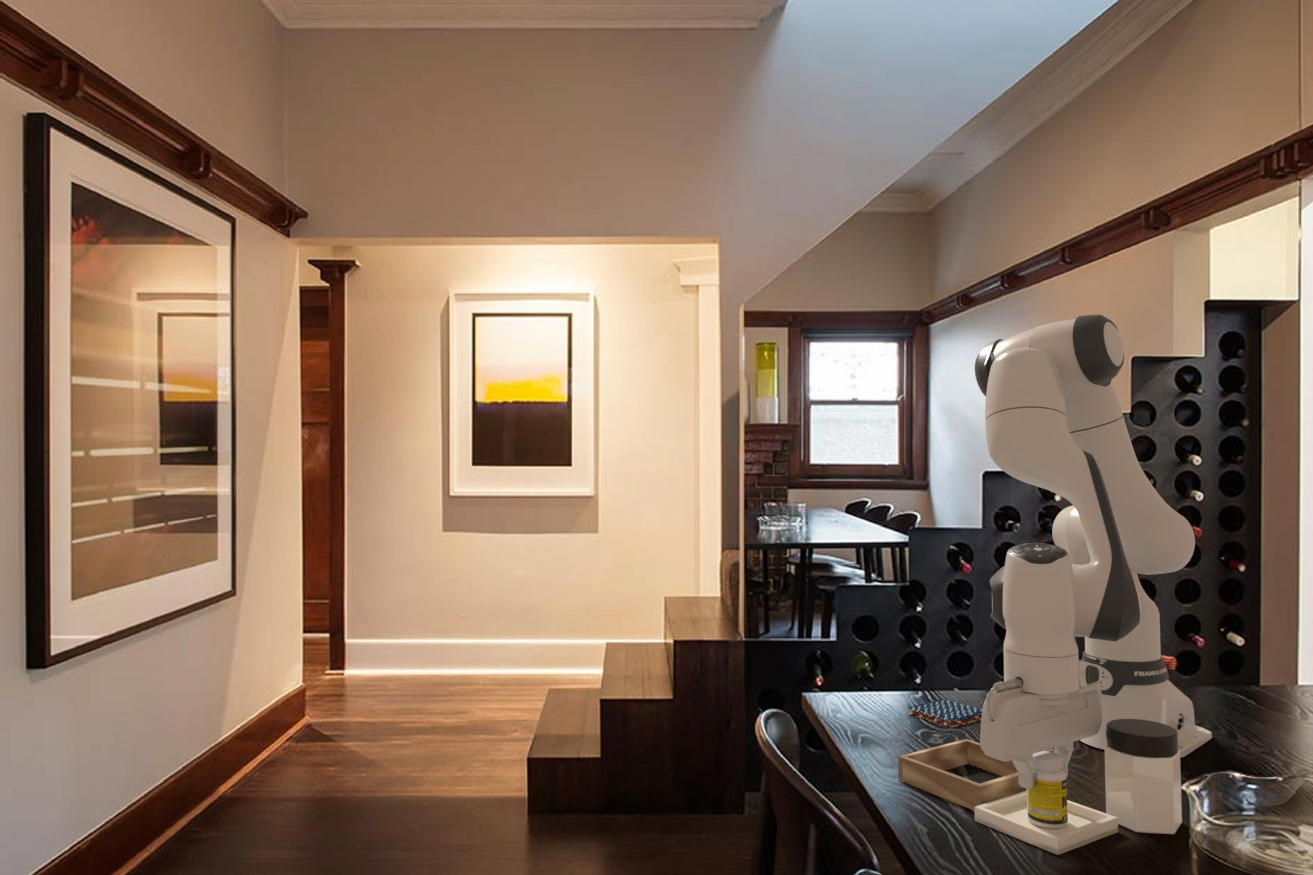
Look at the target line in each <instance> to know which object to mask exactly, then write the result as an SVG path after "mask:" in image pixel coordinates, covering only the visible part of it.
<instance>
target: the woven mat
mask: <svg viewBox="0 0 1313 875" xmlns="http://www.w3.org/2000/svg"><path fill="white" fill-rule="evenodd" d="M908 709H910V710H908V712H907V714H908V715H909V716H911V717H912V716H913V717H914V716H915V717H916V718H919V719H921V720H923V719H924V720H925V721H928V722H930V723H931V722H933V723H935V724H939V725H943V726H945V727H949V728H956V727H960V726H965V725H968V724H971V723H976V722H979V721H980V722H981V719H982V710H983V708H978V707H974V706H973V705H971V706H970V705H968V704H962V703H960V702H958V703H957V702H956V701H953V700H951V701H950V700H949V699H944V700H943V699H937V701H936V700H932V701H931V702H928V701H927V702H925V704H924V703H920V704H919V705H918V704H915V705H914V707H913V706H908Z"/></svg>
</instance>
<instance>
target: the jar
mask: <svg viewBox="0 0 1313 875" xmlns="http://www.w3.org/2000/svg"><path fill="white" fill-rule="evenodd" d="M1106 738H1107V745H1106V746H1105V750H1104V779H1105V780H1104V781H1105V809H1106V810H1105V813H1106V814H1109V815H1112V816H1115V817H1118V826H1121V827H1123V828H1126V829H1127V830H1130V831H1132V832H1135V833H1143V834H1160V835H1175V834H1176V832H1177V831H1178V829H1179V828H1180V826H1181V824H1182V823H1183V816H1182V814H1183V813H1182V812H1183V809H1182V808H1183V807H1182V805H1183V804H1182V782H1181V781H1182V775H1181V774H1182V773H1181V757H1180V750H1179V749H1178V733H1177V731H1176V730H1175V729H1174V728H1172V727H1170V726H1168V725H1165V724H1162V723H1158V722H1154V721H1148V720H1140V719H1116V720H1112V721H1109V722H1108V723H1107V725H1106Z"/></svg>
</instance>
